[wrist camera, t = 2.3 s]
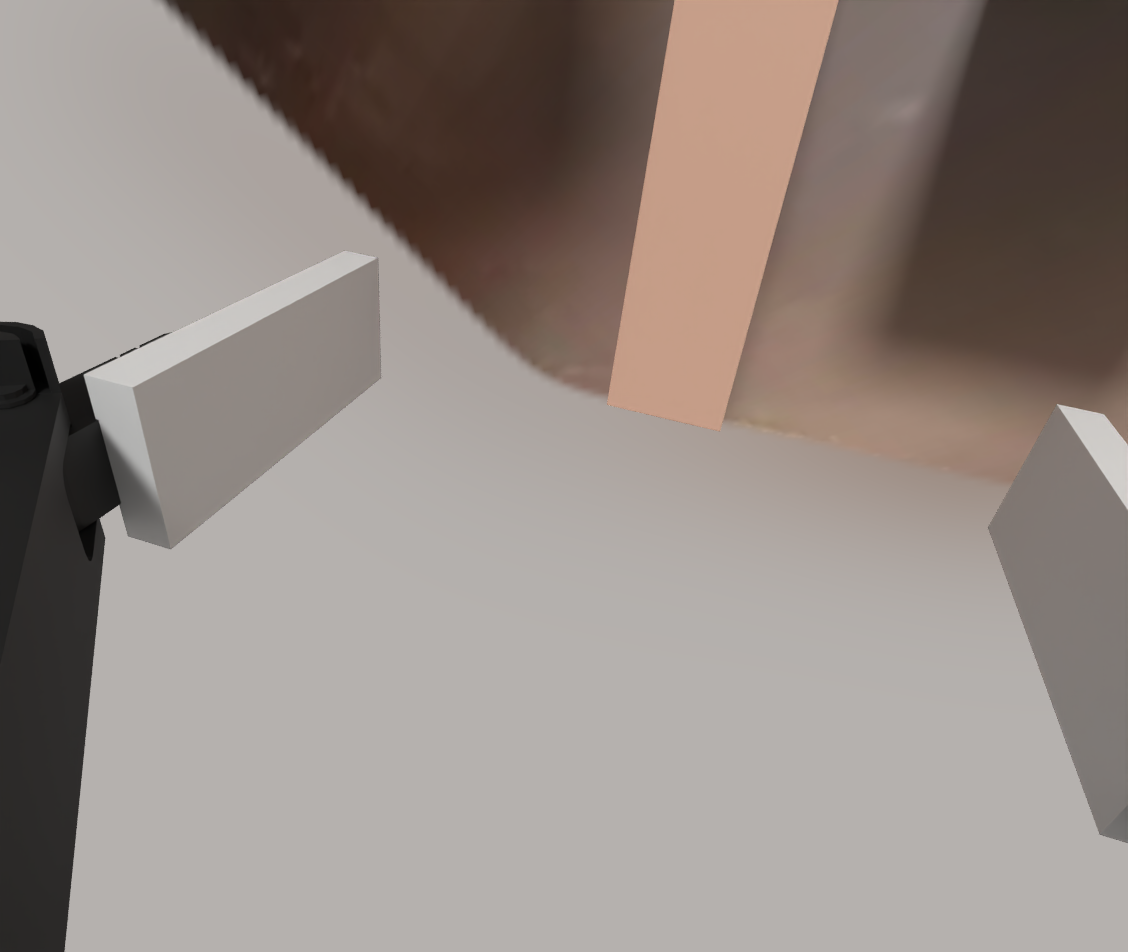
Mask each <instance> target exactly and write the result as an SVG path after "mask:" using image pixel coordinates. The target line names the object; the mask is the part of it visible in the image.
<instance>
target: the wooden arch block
mask: <svg viewBox="0 0 1128 952" xmlns="http://www.w3.org/2000/svg"><path fill="white" fill-rule="evenodd" d="M838 1H839V0H675V2H674V8H673V14H672V20H671V26H670V32H669V38H668V44H667V50H666V55H665V61H664V67H663V73H662V79H661V85H660V91H659V97H658V103H657V109H656V115H655V121H654V127H653V133H652V139H651V145H650V151H649V157H648V163H647V169H646V175H645V181H644V187H643V193H642V199H641V204H640V210H639V216H638V222H637V228H636V234H635V240H634V246H633V252H632V258H631V264H630V270H629V276H628V282H627V288H626V294H625V300H624V306H623V312H622V318H621V324H620V330H619V336H618V342H617V347H616V353H615V359H614V365H613V371H612V377H611V383H610V389H609V395H608V401H607V405H610V406H614V407H618V408H623V409H627V410H631V411H635V412H640V413H644V414H648V415H652V416H656V417H661V418H665V419H669V420H673V421H678V422H682V423H686V424H691V425H695V426H699V427H703V428H708V429H712V430H716V431H720V430H721V426H722V422H723V419H724V415H725V411H726V408H727V404H728V400H729V397H730V393H731V390H732V386H733V382H734V379H735V375H736V371H737V368H738V364H739V361H740V357H741V353H742V350H743V346H744V342H745V339H746V335H747V331H748V328H749V324H750V321H751V317H752V313H753V310H754V306H755V302H756V299H757V295H758V291H759V288H760V284H761V281H762V277H763V273H764V270H765V266H766V262H767V259H768V255H769V252H770V248H771V244H772V241H773V237H774V233H775V230H776V226H777V222H778V219H779V215H780V212H781V208H782V204H783V201H784V197H785V193H786V190H787V186H788V182H789V179H790V175H791V172H792V168H793V164H794V161H795V157H796V153H797V150H798V146H799V142H800V139H801V135H802V132H803V128H804V124H805V121H806V117H807V113H808V110H809V106H810V103H811V99H812V95H813V92H814V88H815V84H816V81H817V77H818V73H819V70H820V66H821V63H822V59H823V55H824V52H825V48H826V44H827V41H828V37H829V33H830V30H831V26H832V23H833V19H834V15H835V12H836V8H837V4H838Z"/></svg>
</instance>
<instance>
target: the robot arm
mask: <svg viewBox="0 0 1128 952" xmlns="http://www.w3.org/2000/svg"><path fill="white" fill-rule="evenodd" d="M378 276H379V274H378V257H373V256H368V255H363V254H358V253H354V252H349V251H342V252H340V253H338V254H336V255H334V256H332V257H330V258H328V259H326V260H323V261H321V262H320V263H317V264H315V265H313V266H311V267H309V268H307V269H305V270H302V271H300V272H298V273H296V274H294V275H292V276H290V277H288V278H286V279H283V280H282V281H279V282H277V283H275V284H273V285H271V286H269V287H267V288H265V289H262V290H261V291H258V292H256V293H254V294H252V295H250V296H248V297H246V298H243V299H241V300H239V301H237V302H235V303H233V304H231V305H229V306H227V307H225V308H223V309H220V310H218V311H216V312H214V313H212V314H210V315H208V316H206V317H204V318H201V319H199V320H197V321H195V322H193V323H191V324H189V325H187V326H185V327H183V328H180V329H178V330H176V331H174V332H171V333H167V334H163V335H161V336H159V337H157V338H155V339H153V340H151V341H148V342H146V343H144V344H142V345H140V348H139V349H137V348H134V349H131V350H129V351H127V352H125V353H123V354H121V355H120V357H119V358H116V357H114V358H112V359H110V360H108V361H106V362H104V363H102V364H100V365H98V366H96V367H93V368H91V369H89V370H87V371H85V372H83V373H81V374H78V375H76V376H74V377H72V378H70V379H68V380H66V381H64V382H61V383H59V382H58V378H57V375H56V372H55V369H54V365H53V361H52V358H51V355H50V351H49V348H48V345H47V341H46V338H45V335H44V332H43V330H41V329H39V328H37V327H35V326H33V325H28V324H23V323H18V322H0V952H64V950H65V940H66V929H67V920H68V910H69V900H70V899H69V898H70V889H71V879H72V869H73V858H74V848H75V839H76V828H77V818H78V807H79V798H80V788H81V778H82V768H83V757H84V746H85V737H86V727H87V717H88V706H89V696H90V686H91V676H92V666H93V656H94V646H95V635H96V625H97V616H98V605H99V595H100V585H101V575H102V565H103V554H104V545H105V536H104V532H103V529H102V526H101V522H100V519H99V518H101V517H102V516H103V515H105V514H106V513H108V512H109V511H111V510H112V509H114V508H115V507H116V506H118V505H120V509H121V512H122V516H123V520H124V523H125V527H126V530H127V534H128V536H129V537H133V538H136V539H139V540H143V541H146V542H149V543H152V544H155V545H159V546H162V547H165V548H169V549H172V548H173V547H174V546H175V545H177V544H178V543H179V542H180V541H181V540H183V539H184V538H185V537H186V536H188V535H189V534H190V533H191V532H193V531H194V530H195V529H196V528H197V527H198V526H200V525H201V524H202V523H203V522H205V521H206V520H207V519H209V518H210V517H211V516H212V515H213V514H215V513H216V512H217V511H218V510H220V509H221V508H222V507H223V506H225V505H226V504H227V503H228V502H229V501H230V500H232V499H233V498H234V497H235V496H237V495H238V494H239V493H240V492H242V491H243V490H244V489H245V488H246V487H248V486H249V485H250V484H251V483H253V482H254V481H255V480H256V479H258V478H259V477H260V476H261V475H263V474H264V473H265V472H266V471H267V470H269V469H270V468H271V467H272V466H274V465H275V464H276V463H277V462H278V461H280V460H281V459H282V458H283V457H285V456H286V455H287V454H288V453H289V452H291V451H292V450H293V449H294V448H296V447H297V446H298V445H299V444H301V443H302V442H303V441H304V440H305V439H307V438H308V437H309V436H310V435H311V434H313V433H314V432H315V431H316V430H318V429H319V428H320V427H321V426H323V425H324V424H325V423H326V422H328V421H329V420H330V419H331V418H332V417H334V416H335V415H336V414H337V413H339V412H340V411H341V410H342V409H343V408H345V407H346V406H347V405H348V404H350V403H351V402H352V401H353V400H354V399H356V398H357V397H358V396H359V395H360V394H362V393H363V392H364V391H366V390H367V389H368V388H369V387H370V386H372V385H373V384H374V383H375V382H377V381H378V380H379V379H380V378H381V359H380V358H381V355H380V314H379V277H378ZM988 529H989V532H990V535H991V537H992V540H993V543H994V546H995V548H996V551H997V554H998V556H999V559H1000V562H1001V565H1002V568H1003V570H1004V573H1005V576H1006V579H1007V581H1008V584H1009V587H1010V589H1011V592H1012V595H1013V597H1014V600H1015V603H1016V606H1017V608H1018V611H1019V614H1020V617H1021V619H1022V622H1023V625H1024V628H1025V631H1026V633H1027V636H1028V639H1029V642H1030V644H1031V647H1032V650H1033V653H1034V655H1035V658H1036V661H1037V663H1038V666H1039V669H1040V672H1041V675H1042V677H1043V680H1044V683H1045V686H1046V688H1047V691H1048V694H1049V697H1050V699H1051V702H1052V705H1053V708H1054V710H1055V713H1056V716H1057V719H1058V721H1059V724H1060V726H1061V729H1062V732H1063V735H1064V738H1065V741H1066V743H1067V746H1068V749H1069V752H1070V754H1071V757H1072V760H1073V763H1074V765H1075V768H1076V771H1077V773H1078V776H1079V779H1080V782H1081V785H1082V787H1083V790H1084V793H1085V795H1086V798H1087V801H1088V804H1089V807H1090V809H1091V812H1092V815H1093V817H1094V820H1095V823H1096V826H1097V828H1098V831H1099V834H1100V835H1103V836H1106V837H1109V838H1113V839H1116V840H1119V841H1122V842H1126V843H1128V445H1127V443H1126V442H1125V441H1124V440H1123V438H1122V437H1121V436H1120V434H1119V433H1118V432H1117V431H1116V429H1115V428H1114V427H1113V425H1112V424H1111V423H1110V421H1109V420H1108V419H1107V418H1106V416H1105V415H1104V414H1100V413H1096V412H1091V411H1086V410H1082V409H1077V408H1072V407H1068V406H1063V405H1059V404H1057V405H1056V407H1055V409H1054V410H1053V412H1052V414H1051V416H1050V417H1049V419H1048V421H1047V423H1046V425H1045V426H1044V428H1043V430H1042V432H1041V434H1040V435H1039V437H1038V439H1037V441H1036V442H1035V444H1034V446H1033V448H1032V450H1031V451H1030V453H1029V455H1028V457H1027V459H1026V460H1025V462H1024V464H1023V466H1022V467H1021V469H1020V471H1019V473H1018V475H1017V476H1016V478H1015V480H1014V482H1013V484H1012V485H1011V487H1010V489H1009V491H1008V493H1007V494H1006V496H1005V498H1004V500H1003V502H1002V503H1001V505H1000V507H999V509H998V510H997V512H996V514H995V516H994V518H993V519H992V521H991V523H990V525H989V526H988Z"/></svg>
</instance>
